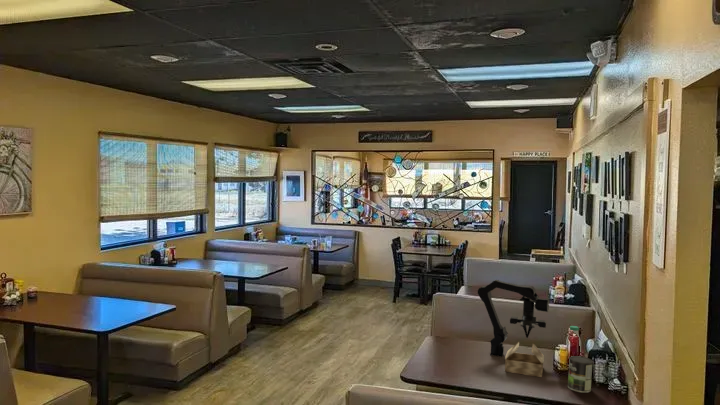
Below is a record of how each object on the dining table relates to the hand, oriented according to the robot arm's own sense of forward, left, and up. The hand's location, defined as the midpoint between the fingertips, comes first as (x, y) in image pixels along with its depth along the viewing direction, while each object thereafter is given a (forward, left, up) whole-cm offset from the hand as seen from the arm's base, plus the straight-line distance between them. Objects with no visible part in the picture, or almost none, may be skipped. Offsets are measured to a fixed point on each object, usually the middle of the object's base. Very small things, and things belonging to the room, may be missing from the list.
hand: (527, 337), depth 292 cm
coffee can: (+26, -33, -13) cm, 44 cm away
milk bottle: (+24, +7, -13) cm, 28 cm away
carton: (0, -17, -12) cm, 21 cm away
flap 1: (-6, -17, -3) cm, 18 cm away
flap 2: (+6, -17, -3) cm, 18 cm away
